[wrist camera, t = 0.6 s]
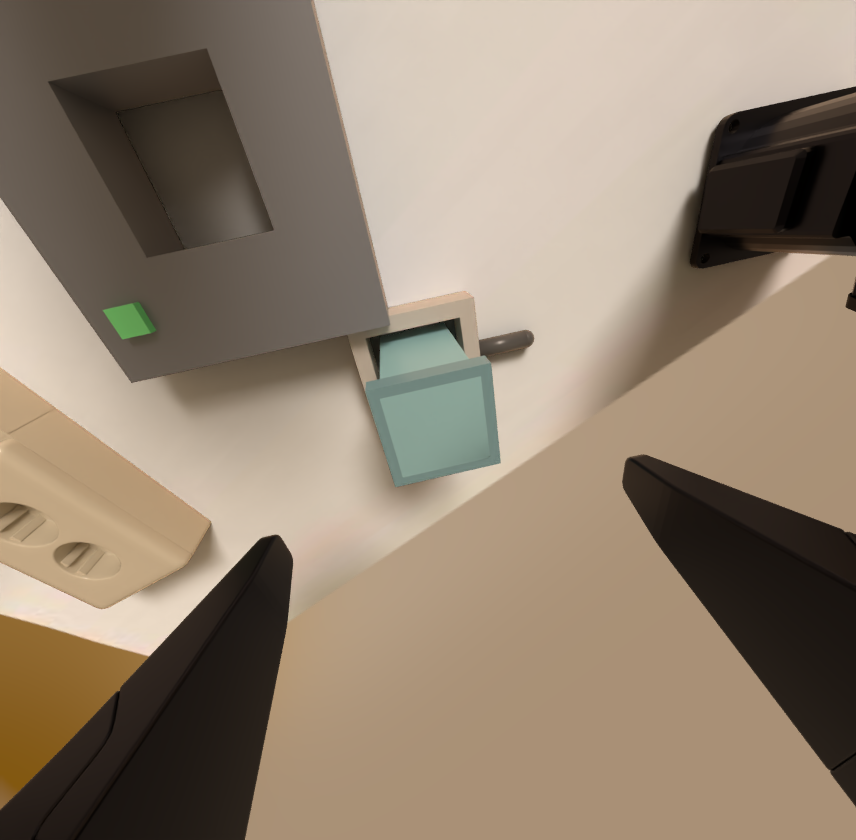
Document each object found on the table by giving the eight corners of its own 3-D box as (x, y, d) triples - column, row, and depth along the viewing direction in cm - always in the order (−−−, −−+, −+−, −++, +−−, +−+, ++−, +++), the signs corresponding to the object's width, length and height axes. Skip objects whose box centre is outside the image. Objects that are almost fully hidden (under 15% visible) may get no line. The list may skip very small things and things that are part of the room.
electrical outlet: (-245, 301, 11) (187, 568, 20) (-99, 285, 15) (216, 518, 24) (-354, 401, 13) (101, 614, 21) (-193, 364, 16) (141, 560, 25)
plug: (449, 313, 18) (490, 362, 11) (460, 385, 20) (500, 463, 14) (371, 330, 18) (365, 391, 11) (390, 401, 20) (395, 487, 13)
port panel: (282, -127, 11) (245, -264, 8) (389, 311, 18) (390, 327, 15) (-88, -51, 10) (-270, -161, 8) (168, 360, 18) (125, 386, 15)
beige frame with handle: (528, 276, 18) (544, 281, 16) (531, 384, 21) (544, 397, 19) (347, 316, 18) (344, 326, 16) (378, 418, 21) (378, 435, 19)
